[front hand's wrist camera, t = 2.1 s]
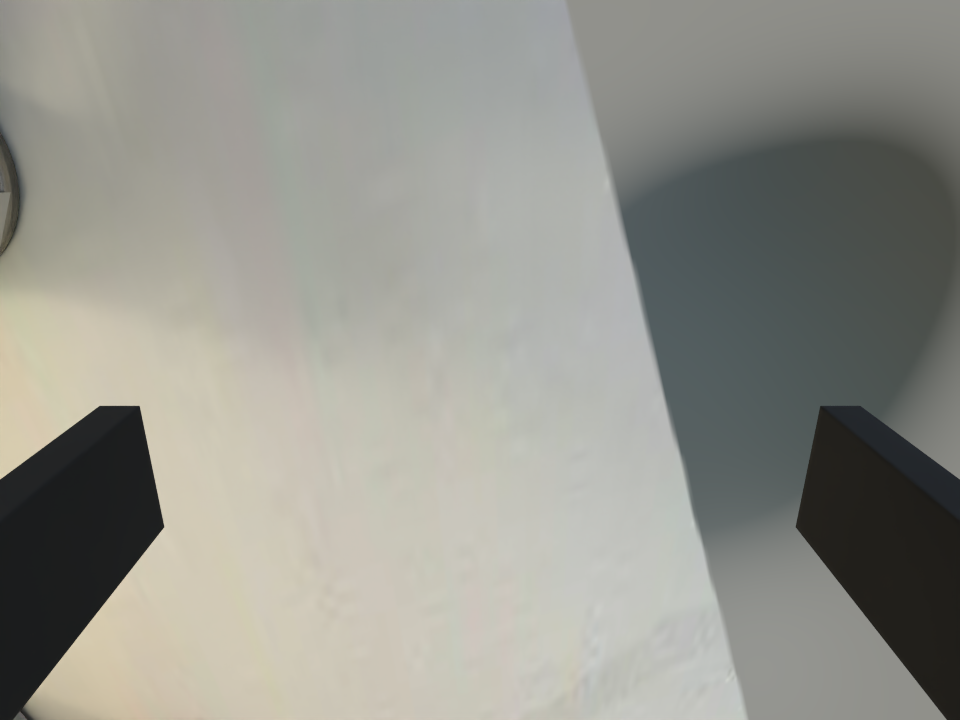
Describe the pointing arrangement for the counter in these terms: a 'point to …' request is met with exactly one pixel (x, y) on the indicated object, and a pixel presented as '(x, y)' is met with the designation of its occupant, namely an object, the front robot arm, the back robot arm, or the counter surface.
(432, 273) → the counter surface
